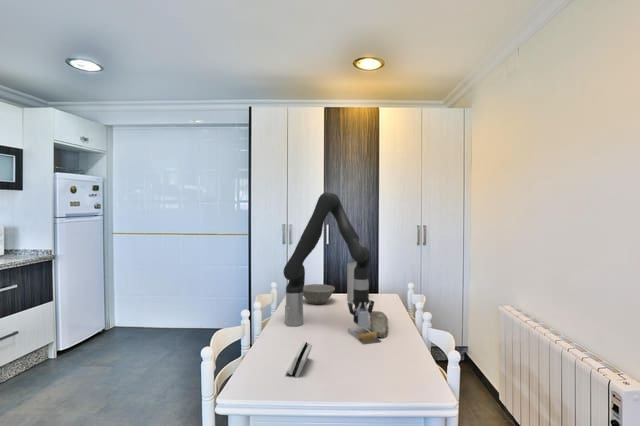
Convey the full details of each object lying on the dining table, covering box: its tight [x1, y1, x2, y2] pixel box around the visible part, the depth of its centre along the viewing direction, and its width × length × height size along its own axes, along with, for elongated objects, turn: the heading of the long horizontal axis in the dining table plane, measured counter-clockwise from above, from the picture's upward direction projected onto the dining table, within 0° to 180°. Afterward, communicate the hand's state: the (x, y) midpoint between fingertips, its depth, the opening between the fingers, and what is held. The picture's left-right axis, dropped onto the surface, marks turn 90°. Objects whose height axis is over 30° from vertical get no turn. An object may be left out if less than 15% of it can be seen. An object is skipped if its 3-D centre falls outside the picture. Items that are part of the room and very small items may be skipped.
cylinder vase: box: [346, 261, 357, 302], centre depth 233 cm, size 12×12×25 cm
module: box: [352, 307, 370, 328], centre depth 169 cm, size 4×8×7 cm, turn 19°
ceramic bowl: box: [303, 283, 335, 305], centre depth 227 cm, size 22×23×10 cm
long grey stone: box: [369, 310, 389, 338], centre depth 181 cm, size 35×5×10 cm
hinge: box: [284, 341, 313, 378], centre depth 134 cm, size 17×5×10 cm, turn 170°
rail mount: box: [347, 327, 382, 345], centre depth 166 cm, size 9×18×3 cm, turn 19°
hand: (361, 322), depth 169 cm, fingers closed on module, 4 cm apart
